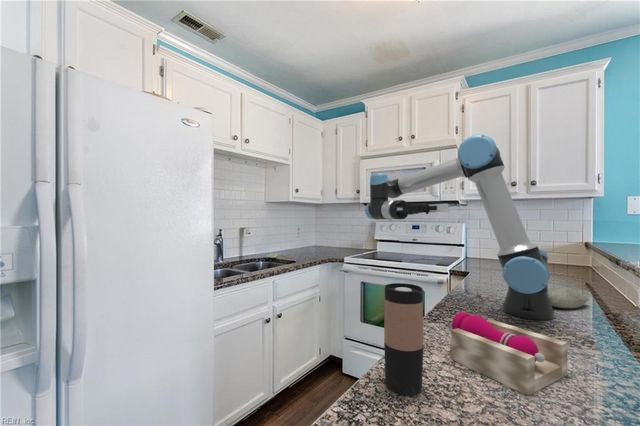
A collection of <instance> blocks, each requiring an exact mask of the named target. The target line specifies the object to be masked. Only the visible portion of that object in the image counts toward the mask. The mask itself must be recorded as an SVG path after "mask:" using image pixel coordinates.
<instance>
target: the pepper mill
mask: <svg viewBox="0 0 640 426" xmlns="http://www.w3.org/2000/svg"><path fill="white" fill-rule="evenodd" d="M486 320H487V319H485V318H484V317H483V316H479V315H477V314H473V315H471V314H470V313H467V312H464V311H459V312H457V313H456V314H455V315H454V317H453V319H452V322H451V330H453V329H457V328H459V329H461V330H464V331H467V332H470V333H472V334H475V335H478V336H481V337H483V338H486V339H489V340H491V341H494V342H497V343H500V344H502V345H505V346H508V347H511V348H513V349H516V350H519V351H521V352H524V353H527V354H530V355H532V356H535V362H536V361H538V362H544V360H545V357H544V355H542V354H541V353H539V351H538V347H537V345H536V344H535V342H534V341H532V340H531V339H530V338H528V337H525V336H516V335H514V334H511V333H503V332H500V331H498V330H496V329H495V328H494V327H493V326H492V325H491V324H490V323H489V322H487V321H486Z"/></svg>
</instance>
